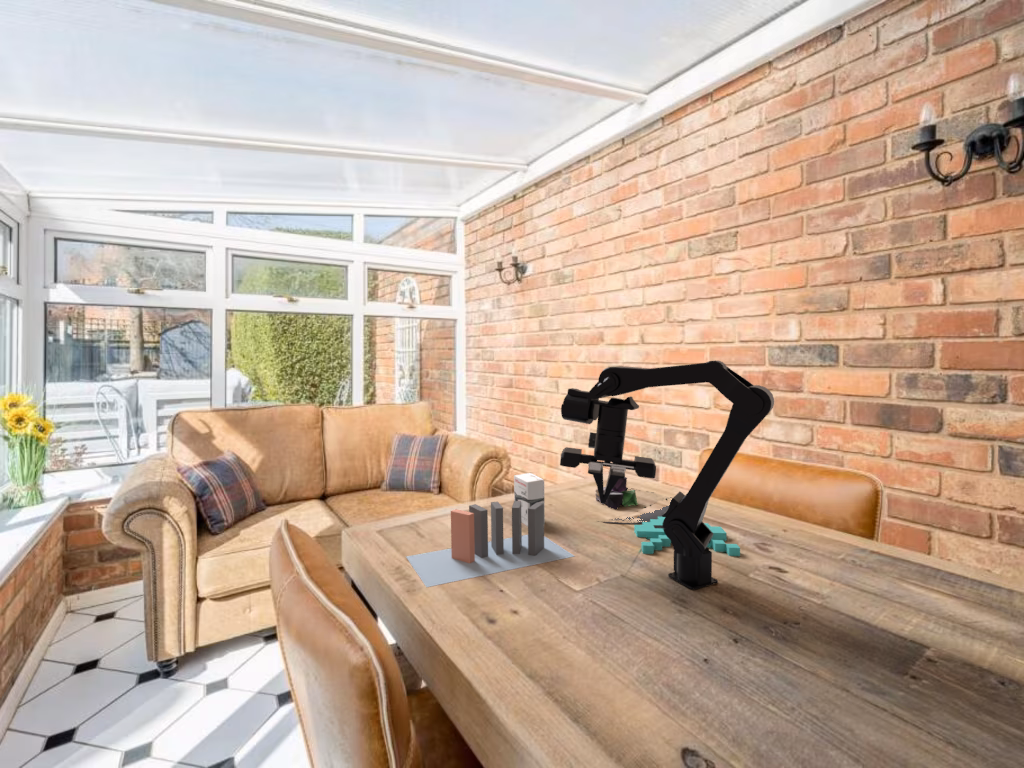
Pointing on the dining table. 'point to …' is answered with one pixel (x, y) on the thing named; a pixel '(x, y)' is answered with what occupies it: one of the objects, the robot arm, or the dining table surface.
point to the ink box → (528, 493)
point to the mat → (481, 562)
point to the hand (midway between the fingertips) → (602, 502)
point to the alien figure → (659, 539)
